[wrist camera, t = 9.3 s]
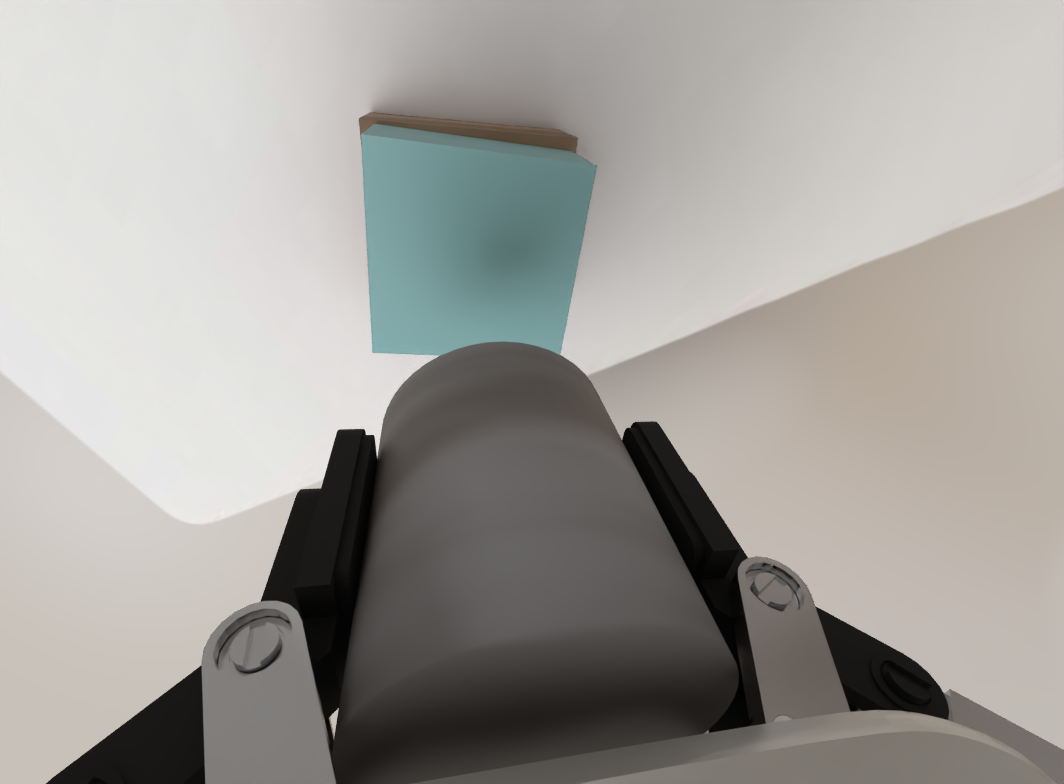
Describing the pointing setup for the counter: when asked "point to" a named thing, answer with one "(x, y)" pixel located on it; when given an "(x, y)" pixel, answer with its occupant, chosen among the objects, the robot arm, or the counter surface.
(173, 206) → the counter surface
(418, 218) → the teal top block
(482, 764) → the charcoal cylinder
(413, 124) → the walnut base block
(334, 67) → the counter surface
